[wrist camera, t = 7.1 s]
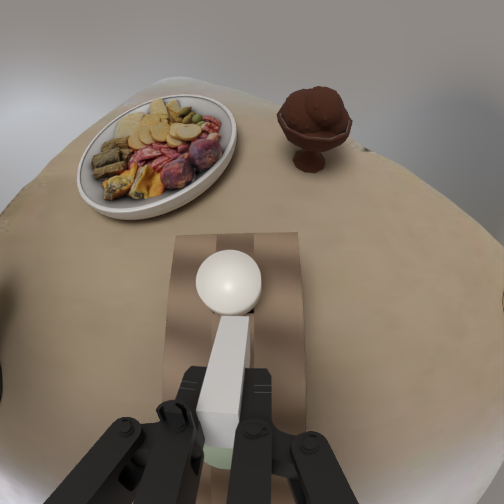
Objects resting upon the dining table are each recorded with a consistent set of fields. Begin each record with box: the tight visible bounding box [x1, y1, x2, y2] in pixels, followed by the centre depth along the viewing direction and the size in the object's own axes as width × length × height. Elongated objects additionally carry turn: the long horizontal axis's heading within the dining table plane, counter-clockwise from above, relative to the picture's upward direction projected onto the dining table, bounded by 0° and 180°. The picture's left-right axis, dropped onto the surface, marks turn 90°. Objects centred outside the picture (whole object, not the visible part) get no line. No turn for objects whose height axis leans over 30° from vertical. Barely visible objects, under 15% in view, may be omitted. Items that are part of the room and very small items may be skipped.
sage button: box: [203, 443, 233, 469], centre depth 18 cm, size 5×5×6 cm
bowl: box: [77, 94, 237, 220], centre depth 43 cm, size 30×30×8 cm
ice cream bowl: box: [277, 86, 352, 173], centre depth 37 cm, size 11×11×15 cm
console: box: [163, 232, 306, 504], centre depth 23 cm, size 36×12×10 cm, turn 0°
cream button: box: [196, 250, 262, 316], centre depth 23 cm, size 5×5×6 cm
